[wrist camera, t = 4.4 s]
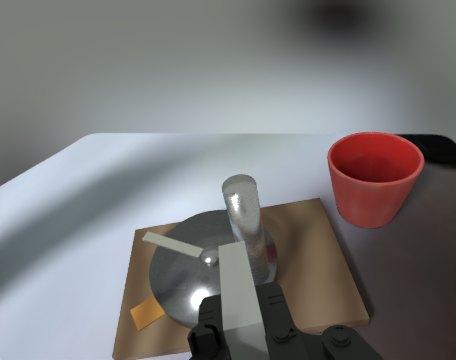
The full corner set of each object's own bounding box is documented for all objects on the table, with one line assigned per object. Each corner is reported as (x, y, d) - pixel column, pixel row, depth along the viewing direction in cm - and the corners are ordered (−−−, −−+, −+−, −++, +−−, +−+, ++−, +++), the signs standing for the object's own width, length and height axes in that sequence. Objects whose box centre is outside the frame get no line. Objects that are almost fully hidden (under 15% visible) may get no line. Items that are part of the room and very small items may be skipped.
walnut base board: (117, 362, 36) (111, 356, 35) (139, 235, 49) (135, 228, 48) (367, 324, 34) (369, 317, 33) (319, 204, 48) (319, 196, 46)
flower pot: (333, 177, 51) (336, 126, 45) (410, 189, 47) (426, 135, 40) (317, 226, 45) (318, 175, 38) (405, 246, 40) (423, 192, 34)
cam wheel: (114, 295, 40) (44, 211, 30) (180, 205, 50) (145, 118, 39) (248, 355, 32) (217, 269, 22) (294, 234, 42) (289, 135, 32)
